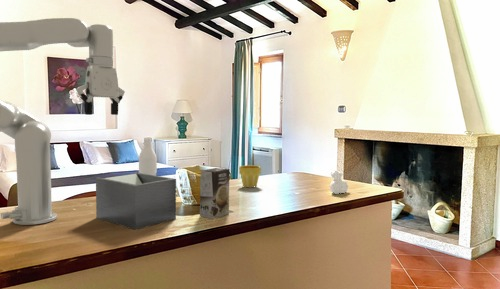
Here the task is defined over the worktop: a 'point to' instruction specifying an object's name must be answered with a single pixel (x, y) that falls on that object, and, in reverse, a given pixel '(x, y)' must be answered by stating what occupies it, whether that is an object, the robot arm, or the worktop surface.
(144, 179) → the bin
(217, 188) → the coffee box
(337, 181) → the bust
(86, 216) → the worktop surface
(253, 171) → the plant pot
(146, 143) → the water bottle
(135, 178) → the trapdoor
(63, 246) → the worktop surface
